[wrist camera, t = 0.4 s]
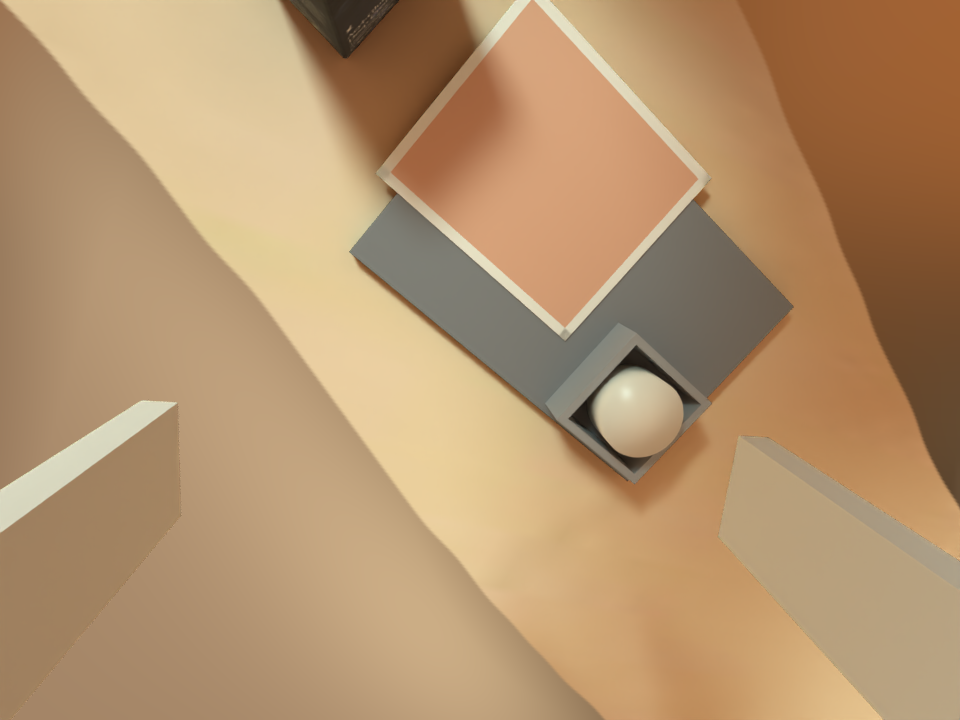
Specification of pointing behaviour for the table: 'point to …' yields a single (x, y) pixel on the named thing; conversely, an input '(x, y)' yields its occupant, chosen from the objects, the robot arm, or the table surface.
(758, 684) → the table surface
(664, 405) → the button
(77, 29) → the table surface
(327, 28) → the box
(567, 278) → the grey board
